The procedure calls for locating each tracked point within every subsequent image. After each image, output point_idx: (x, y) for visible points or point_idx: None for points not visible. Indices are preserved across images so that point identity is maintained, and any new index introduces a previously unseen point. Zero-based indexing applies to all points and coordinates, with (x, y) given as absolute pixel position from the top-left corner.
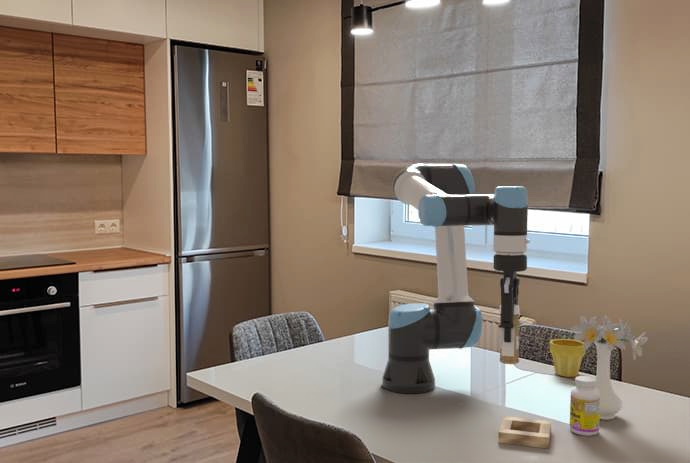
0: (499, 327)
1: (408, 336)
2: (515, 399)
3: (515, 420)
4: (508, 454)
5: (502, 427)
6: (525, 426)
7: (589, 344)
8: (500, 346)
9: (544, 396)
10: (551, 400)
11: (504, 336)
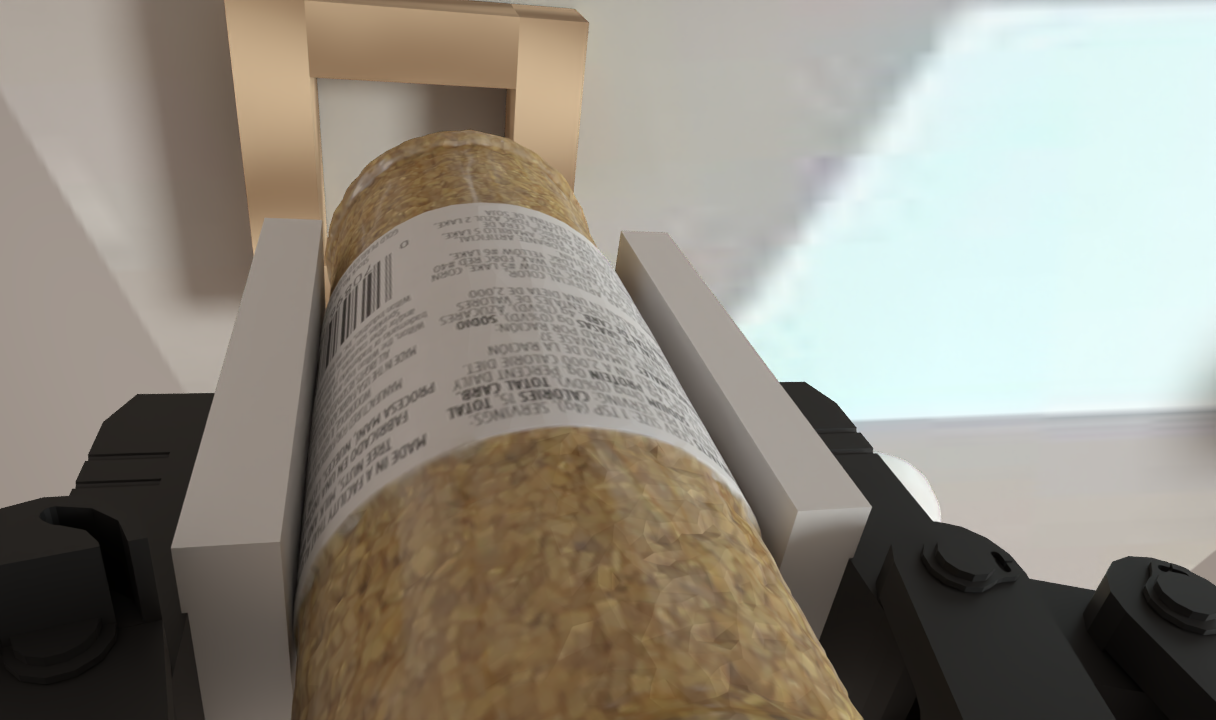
0: (11, 525)
1: None
2: (1085, 72)
3: (516, 110)
4: (41, 61)
5: (335, 21)
6: None
7: None
8: (406, 233)
9: (1114, 237)
10: (1046, 274)
11: (84, 481)
